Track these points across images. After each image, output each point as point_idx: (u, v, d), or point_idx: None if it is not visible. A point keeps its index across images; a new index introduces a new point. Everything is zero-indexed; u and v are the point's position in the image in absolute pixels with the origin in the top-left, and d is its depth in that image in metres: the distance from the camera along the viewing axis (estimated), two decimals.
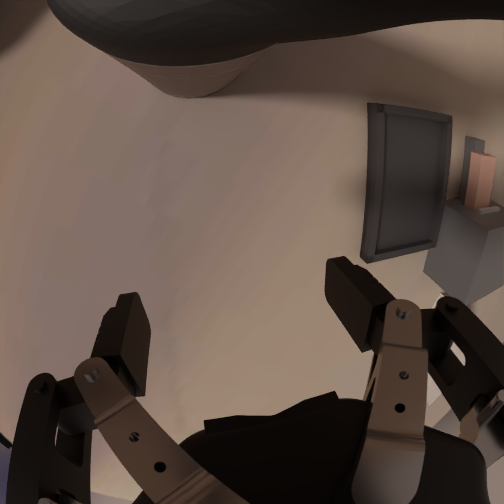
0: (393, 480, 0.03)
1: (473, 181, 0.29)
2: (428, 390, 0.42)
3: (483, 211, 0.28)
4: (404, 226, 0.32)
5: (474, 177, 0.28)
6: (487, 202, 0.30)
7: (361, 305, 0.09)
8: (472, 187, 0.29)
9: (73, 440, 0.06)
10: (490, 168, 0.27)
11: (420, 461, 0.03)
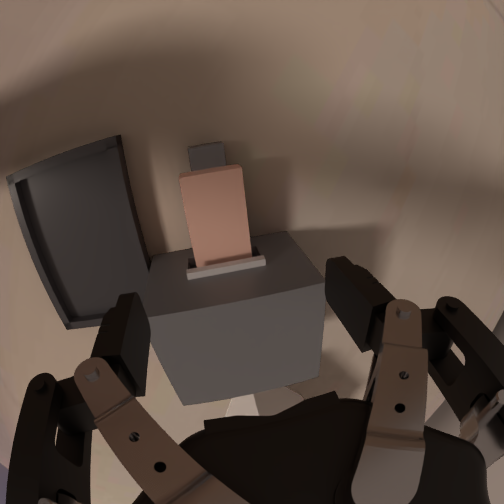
0: (393, 480, 0.03)
1: None
2: None
3: (197, 274, 0.23)
4: (99, 292, 0.27)
5: None
6: (242, 250, 0.25)
7: (361, 305, 0.09)
8: None
9: (73, 440, 0.06)
10: (223, 192, 0.22)
11: (420, 461, 0.03)
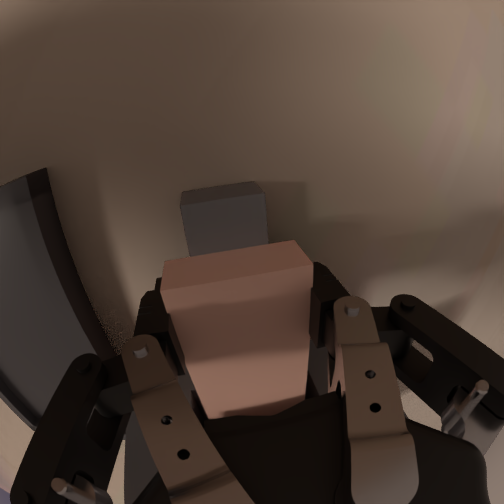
0: (392, 479, 0.03)
1: None
2: None
3: None
4: None
5: None
6: (289, 394, 0.12)
7: (313, 301, 0.09)
8: None
9: (107, 423, 0.07)
10: (266, 315, 0.10)
11: (411, 453, 0.03)
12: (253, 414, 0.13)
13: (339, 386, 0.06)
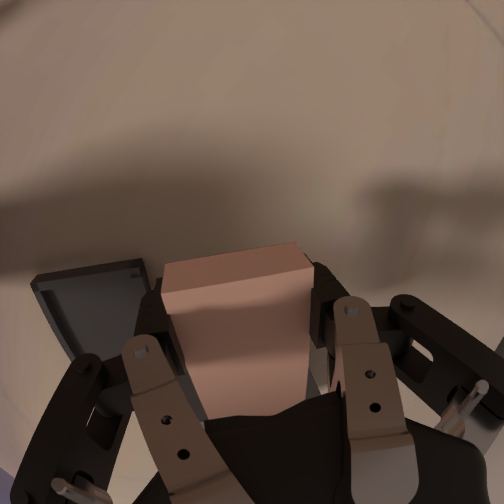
0: (392, 478, 0.03)
1: None
2: None
3: None
4: None
5: None
6: (290, 395, 0.12)
7: (313, 301, 0.09)
8: None
9: (108, 423, 0.07)
10: (267, 318, 0.10)
11: (411, 453, 0.03)
12: None
13: (339, 386, 0.06)
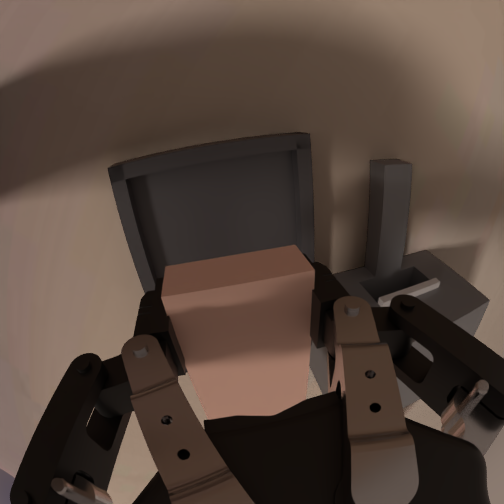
0: (392, 479, 0.03)
1: None
2: None
3: None
4: None
5: None
6: (290, 398, 0.12)
7: (313, 301, 0.09)
8: None
9: (107, 423, 0.07)
10: (267, 321, 0.10)
11: (411, 453, 0.03)
12: None
13: (339, 386, 0.06)
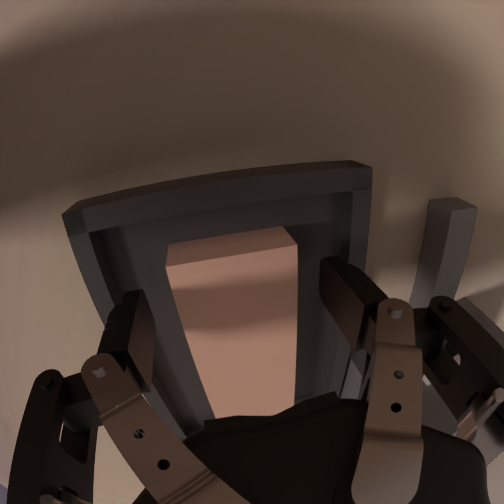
0: (393, 480, 0.03)
1: None
2: None
3: None
4: None
5: None
6: (281, 370, 0.14)
7: (353, 304, 0.09)
8: None
9: (78, 437, 0.06)
10: (257, 291, 0.11)
11: (418, 459, 0.03)
12: (247, 390, 0.14)
13: (369, 383, 0.06)
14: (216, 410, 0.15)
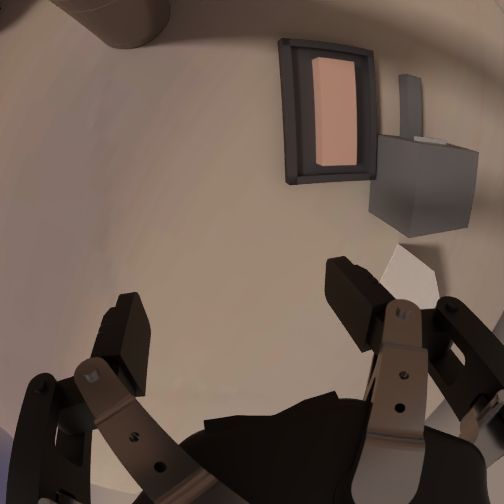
0: (393, 480, 0.03)
1: (317, 88, 0.29)
2: None
3: (421, 138, 0.30)
4: None
5: (317, 84, 0.29)
6: (351, 114, 0.30)
7: (361, 305, 0.09)
8: (317, 95, 0.29)
9: (73, 440, 0.06)
10: (343, 72, 0.28)
11: (420, 461, 0.03)
12: (338, 122, 0.30)
13: (374, 384, 0.06)
14: (323, 134, 0.31)
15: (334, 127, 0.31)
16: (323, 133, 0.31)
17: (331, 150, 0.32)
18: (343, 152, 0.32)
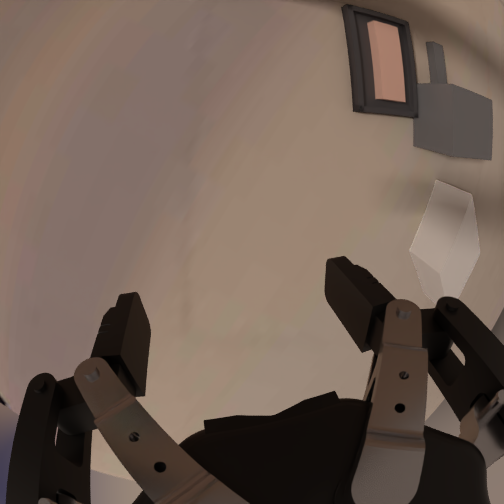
0: (393, 480, 0.03)
1: (373, 42, 0.31)
2: (444, 279, 0.44)
3: None
4: None
5: (373, 39, 0.30)
6: (399, 63, 0.32)
7: (361, 305, 0.09)
8: (374, 47, 0.31)
9: (73, 440, 0.06)
10: (391, 33, 0.29)
11: (420, 460, 0.03)
12: (391, 68, 0.32)
13: (374, 383, 0.06)
14: (382, 75, 0.33)
15: (388, 71, 0.32)
16: (381, 74, 0.33)
17: (387, 88, 0.34)
18: (395, 90, 0.34)
